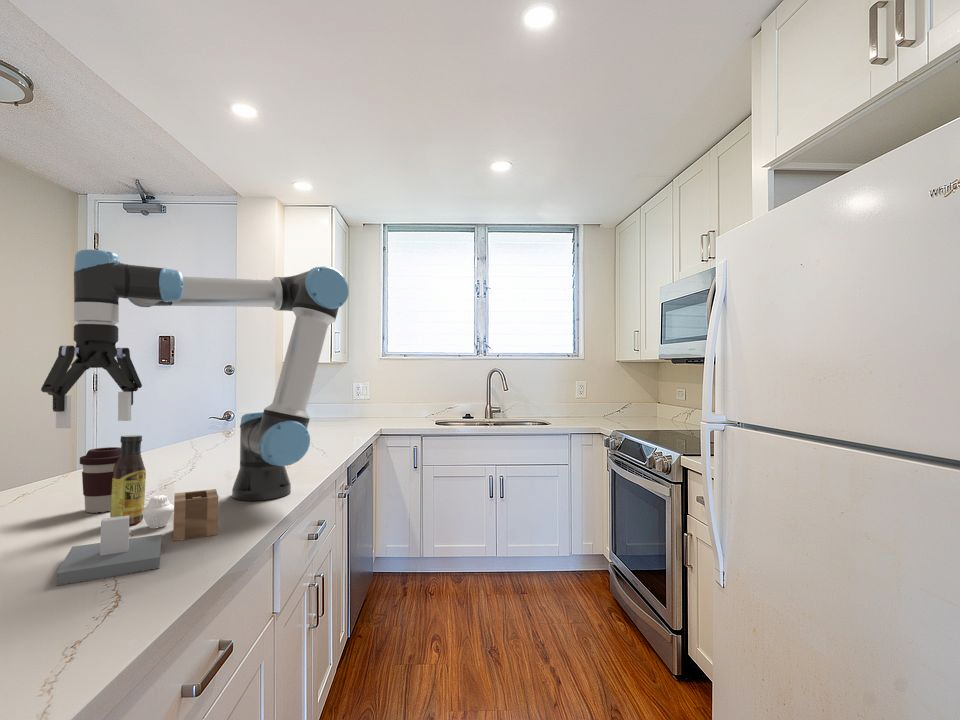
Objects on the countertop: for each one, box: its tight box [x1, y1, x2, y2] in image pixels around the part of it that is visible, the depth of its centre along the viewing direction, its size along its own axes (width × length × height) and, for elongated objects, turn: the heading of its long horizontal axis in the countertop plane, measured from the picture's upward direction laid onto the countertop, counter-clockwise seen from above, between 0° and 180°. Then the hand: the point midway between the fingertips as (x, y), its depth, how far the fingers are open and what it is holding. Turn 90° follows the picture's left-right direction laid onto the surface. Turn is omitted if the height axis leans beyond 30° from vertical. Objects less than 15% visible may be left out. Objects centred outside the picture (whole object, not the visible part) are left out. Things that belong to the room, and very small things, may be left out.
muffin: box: [142, 494, 174, 529], centre depth 110 cm, size 6×6×7 cm
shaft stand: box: [55, 515, 163, 587], centre depth 89 cm, size 14×14×8 cm
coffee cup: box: [79, 446, 121, 514], centre depth 123 cm, size 10×10×15 cm
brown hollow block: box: [172, 488, 219, 542], centre depth 106 cm, size 8×8×8 cm
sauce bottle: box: [109, 434, 147, 526], centre depth 113 cm, size 7×6×20 cm
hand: (95, 424), depth 105 cm, fingers open, 13 cm apart
